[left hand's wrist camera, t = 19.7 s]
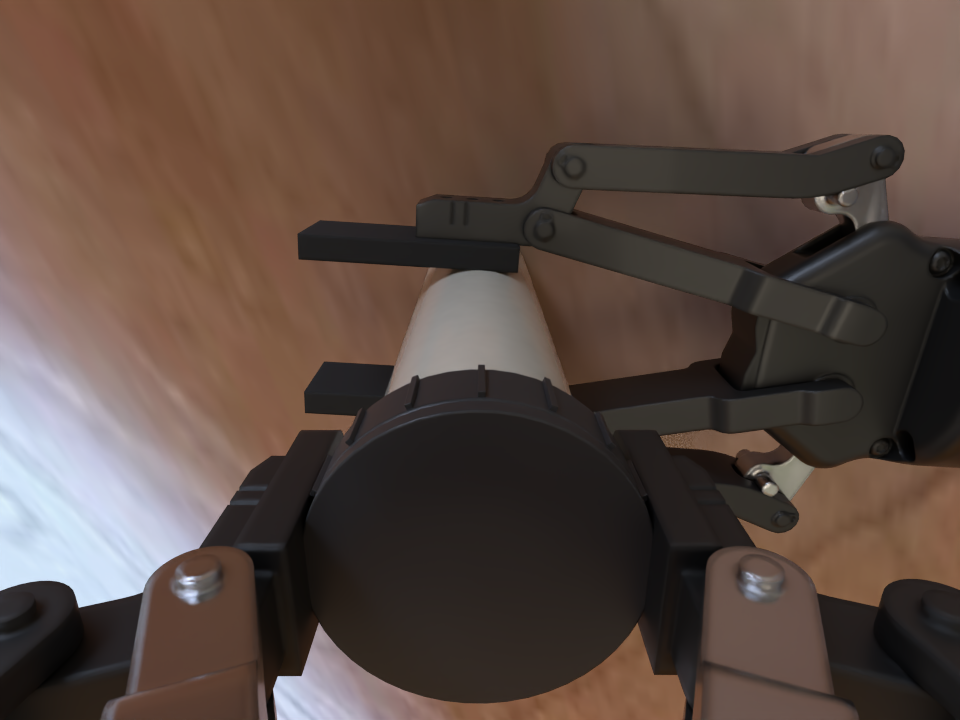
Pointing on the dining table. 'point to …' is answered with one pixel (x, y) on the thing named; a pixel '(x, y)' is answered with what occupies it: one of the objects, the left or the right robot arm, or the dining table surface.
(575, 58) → the dining table surface
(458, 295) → the beige cylinder
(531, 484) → the lid
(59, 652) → the left robot arm
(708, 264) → the right robot arm
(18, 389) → the dining table surface
